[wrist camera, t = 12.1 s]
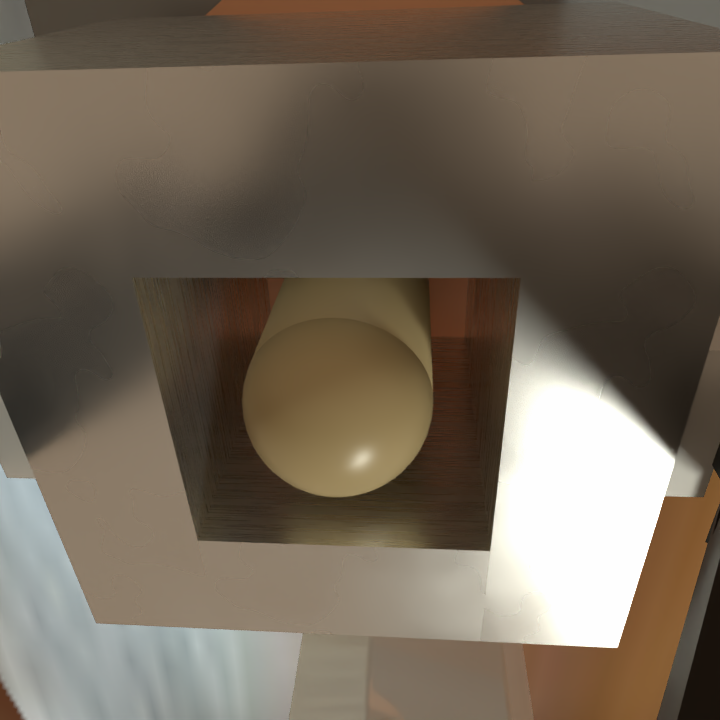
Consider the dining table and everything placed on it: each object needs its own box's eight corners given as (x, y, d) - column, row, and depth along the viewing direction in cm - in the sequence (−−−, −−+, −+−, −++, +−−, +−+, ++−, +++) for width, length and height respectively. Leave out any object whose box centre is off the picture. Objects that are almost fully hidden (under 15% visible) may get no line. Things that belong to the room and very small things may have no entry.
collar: (114, 19, 13) (-135, 75, 7) (616, 1, 12) (801, 48, 6) (198, 408, 18) (96, 623, 13) (550, 415, 18) (617, 647, 12)
